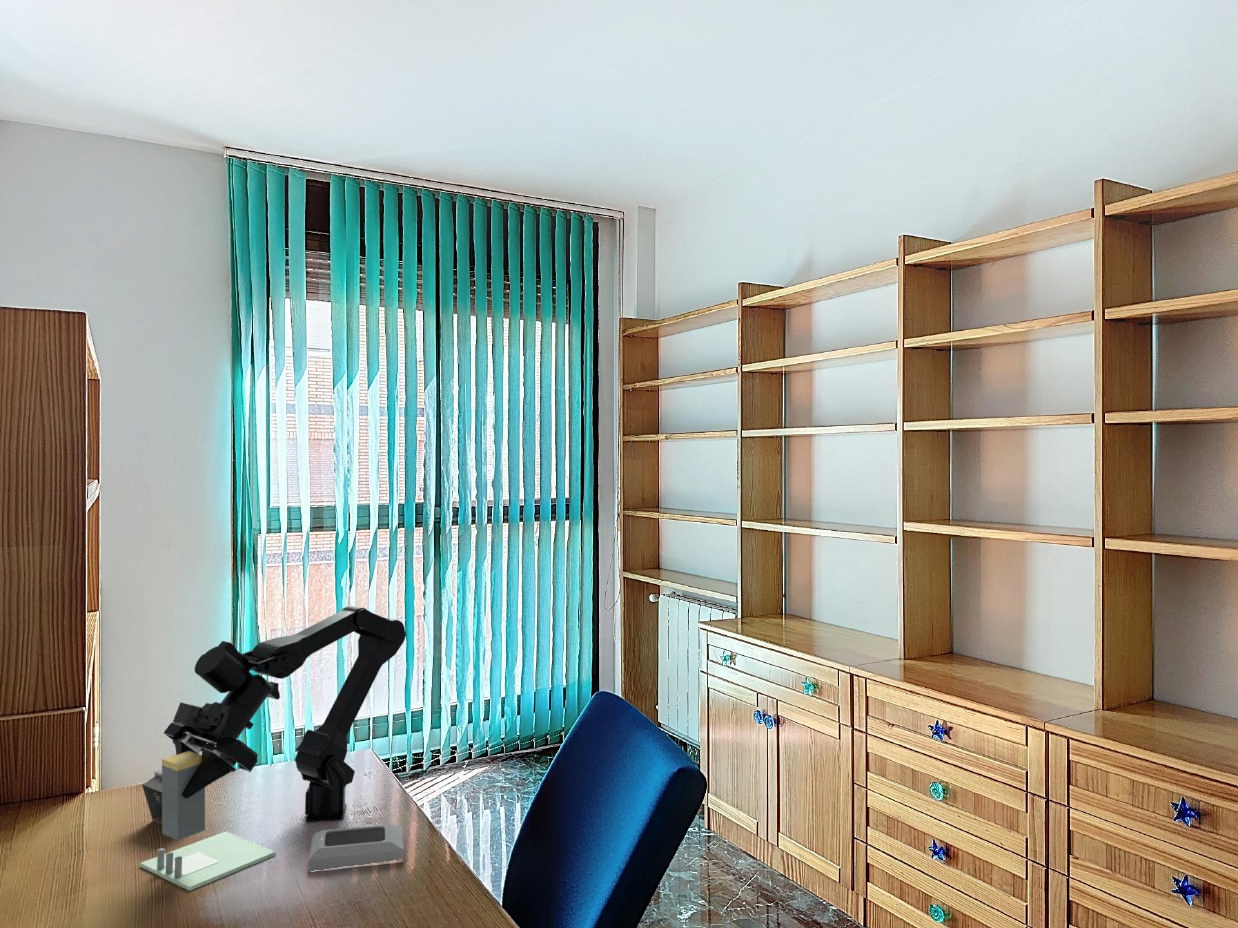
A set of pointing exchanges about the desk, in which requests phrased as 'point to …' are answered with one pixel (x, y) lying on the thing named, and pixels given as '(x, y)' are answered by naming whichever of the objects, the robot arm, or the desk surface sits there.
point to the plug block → (181, 797)
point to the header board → (206, 860)
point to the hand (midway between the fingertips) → (175, 793)
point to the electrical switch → (154, 796)
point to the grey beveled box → (355, 846)
